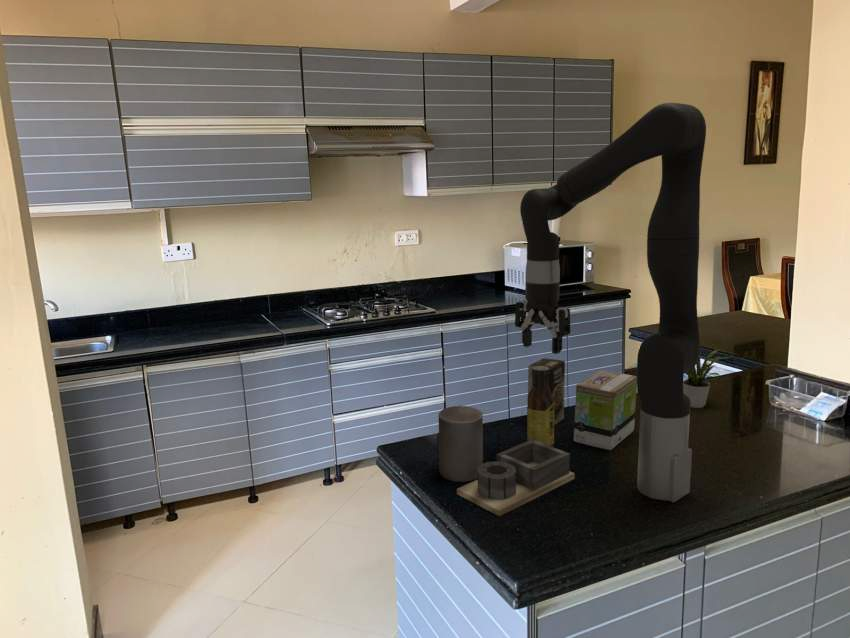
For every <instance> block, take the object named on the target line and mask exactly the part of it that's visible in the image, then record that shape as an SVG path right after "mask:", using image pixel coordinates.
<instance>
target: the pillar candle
mask: <svg viewBox="0 0 850 638" xmlns="http://www.w3.org/2000/svg"><path fill="white" fill-rule="evenodd" d="M483 413H484V412H483V411H482V410H479V409H478V408H476V407H473V406H466V405H456V406H449V407H445V408H443V409H441V410H440V411H439V412H438V461H439V464H438V466H439V467H438V468H439V469H438V471H439V475H441V477H442V478H444V479H446V480H448V481H451V482H456V483H457V482H459V483H460V482H461V483H463V482H464V483H465V482H473V481H476V480H478V467H479V465H482V464H484V438H483V437H484V435H483V434H484V432H483V430H484V429H483V428H484V427H483V423H484V420H483V419H484V418H483V417H484V415H483Z"/></svg>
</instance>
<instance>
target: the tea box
mask: <svg viewBox="0 0 850 638" xmlns="http://www.w3.org/2000/svg"><path fill="white" fill-rule="evenodd" d="M575 388H576V389H575V409H574V428H573V442H575V443H578V444H583V445H586V446H590V447H594V448H599V449H603V450H607V451H612V450H613V449H614V448H615V447H616V446H617V445H618V444H620V443H621V442H622V441H623V440H625V439H626V438H627V437H628V436H629V435H631V434H632V433H633V432H634V430H635V424H636V423H635V422H636V421H635V417H636V405H637V404H636V402H637V375H631V374H627V373H626V374H624V373H620V372H616V371H609V370H601V369H600V370H598V371H597V372H595V373H593V374H592V375H590V376H588V377H587V378H586V379H584V380H582V381H580V382H578V383H577V384H576V387H575Z"/></svg>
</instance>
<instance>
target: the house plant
mask: <svg viewBox="0 0 850 638" xmlns="http://www.w3.org/2000/svg"><path fill="white" fill-rule="evenodd" d="M719 351H720V349H716V350H713V351H711V352H710V353H708V355H707V356H706V357H705V358H704V361H703V363H702V365H701V361H702V360H701V355H700V356H699V360H698V362H697V364H696V365H695V367H694V368H693V369H691V370H690V371H688V372H687V373H685V374H686V375H687V377H686V376H685V374H684V376H683V378H685V379H683V394H685V395H686V396H688V397H689V399H690V402H691V407H690V408H693V409H694V408H695V409H702V408H704V406H705V407H706V404H707V400H708V395H709V391H710V387H711V383H710V382H709V381H706V379H716V380H719V379H718V378H717V377H715V376H713V375H717V376H719V377H721V375H720V373H718V372H711V373H709V372H710V371H711V370H712V369H713V368H714V367H716V366H717V364H716V365H713V364H714V363H715V362H717V361H719V360H721V359H722V360H723V359H729V357H728V356H726V357H725V356H724V357H722V356H721V357H720V356H717V357H715V358H711V357H713V356H714V354H715V353H716V352H719ZM710 358H711V359H710ZM711 375H712V376H711Z"/></svg>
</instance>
